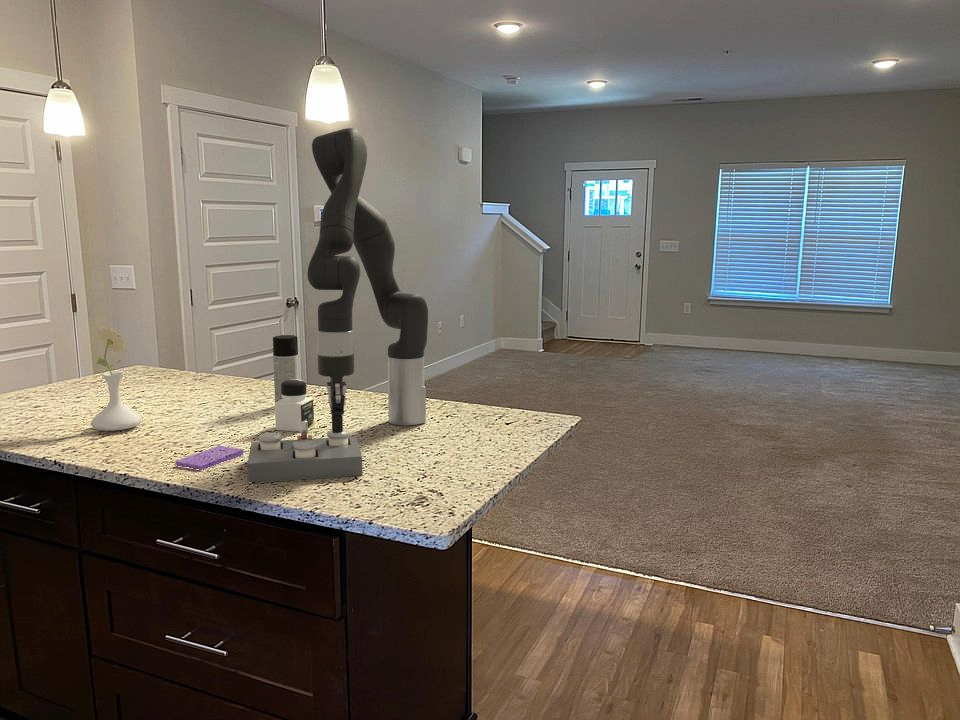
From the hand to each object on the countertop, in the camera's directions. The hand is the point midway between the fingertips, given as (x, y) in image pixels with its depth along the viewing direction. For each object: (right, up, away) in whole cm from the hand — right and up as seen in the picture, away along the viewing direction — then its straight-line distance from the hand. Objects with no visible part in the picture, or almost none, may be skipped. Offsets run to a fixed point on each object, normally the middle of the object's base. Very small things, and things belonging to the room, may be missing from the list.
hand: (337, 431), depth 155 cm
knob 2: (0, -6, +1) cm, 6 cm away
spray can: (-23, +2, +47) cm, 52 cm away
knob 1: (-13, -6, -2) cm, 15 cm away
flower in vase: (-60, -2, +25) cm, 65 cm away
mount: (-6, -7, -4) cm, 10 cm away
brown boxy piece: (-7, -3, -1) cm, 7 cm away
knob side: (-5, -7, -7) cm, 11 cm away
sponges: (-27, -7, 0) cm, 28 cm away
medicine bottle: (-16, -2, +27) cm, 31 cm away
